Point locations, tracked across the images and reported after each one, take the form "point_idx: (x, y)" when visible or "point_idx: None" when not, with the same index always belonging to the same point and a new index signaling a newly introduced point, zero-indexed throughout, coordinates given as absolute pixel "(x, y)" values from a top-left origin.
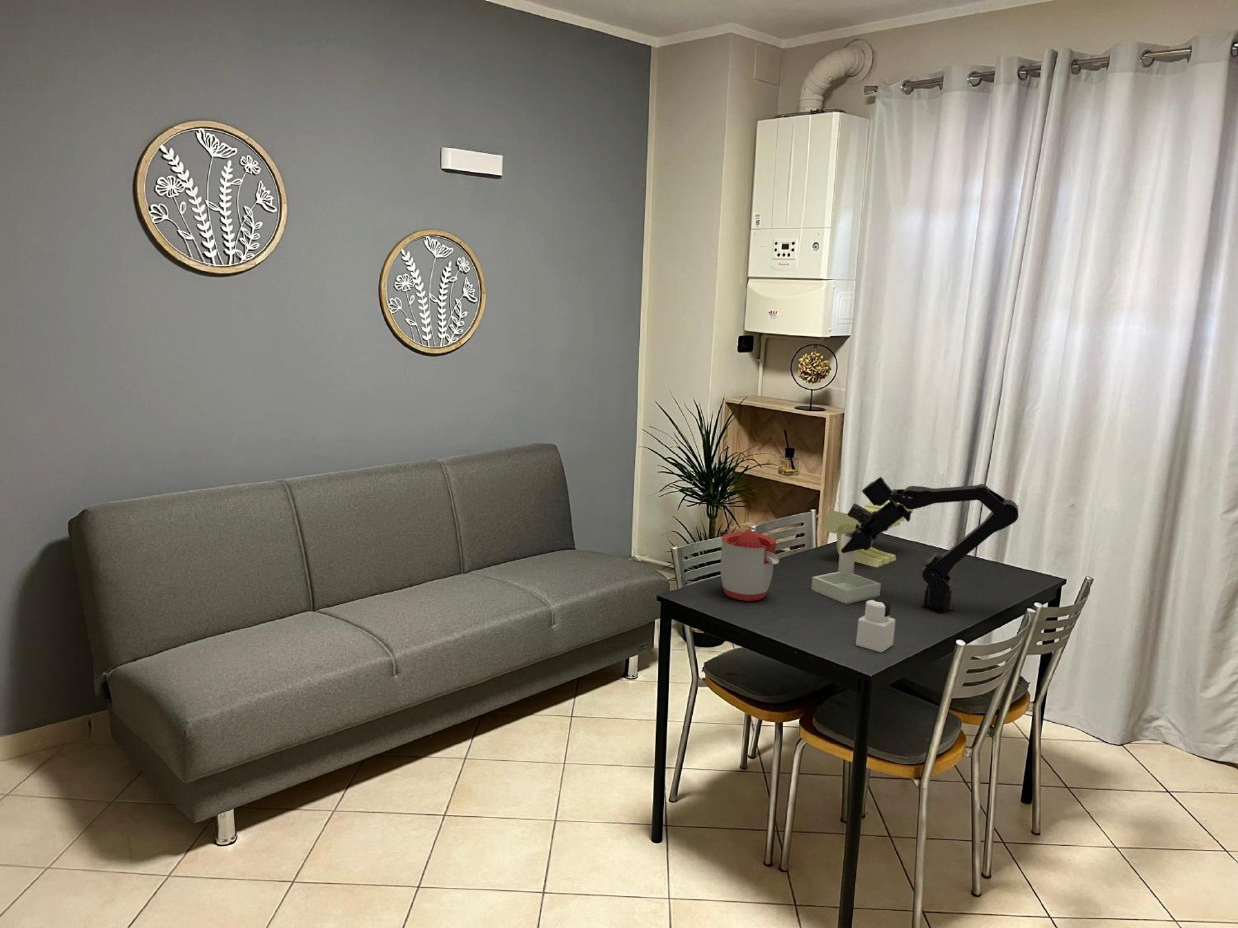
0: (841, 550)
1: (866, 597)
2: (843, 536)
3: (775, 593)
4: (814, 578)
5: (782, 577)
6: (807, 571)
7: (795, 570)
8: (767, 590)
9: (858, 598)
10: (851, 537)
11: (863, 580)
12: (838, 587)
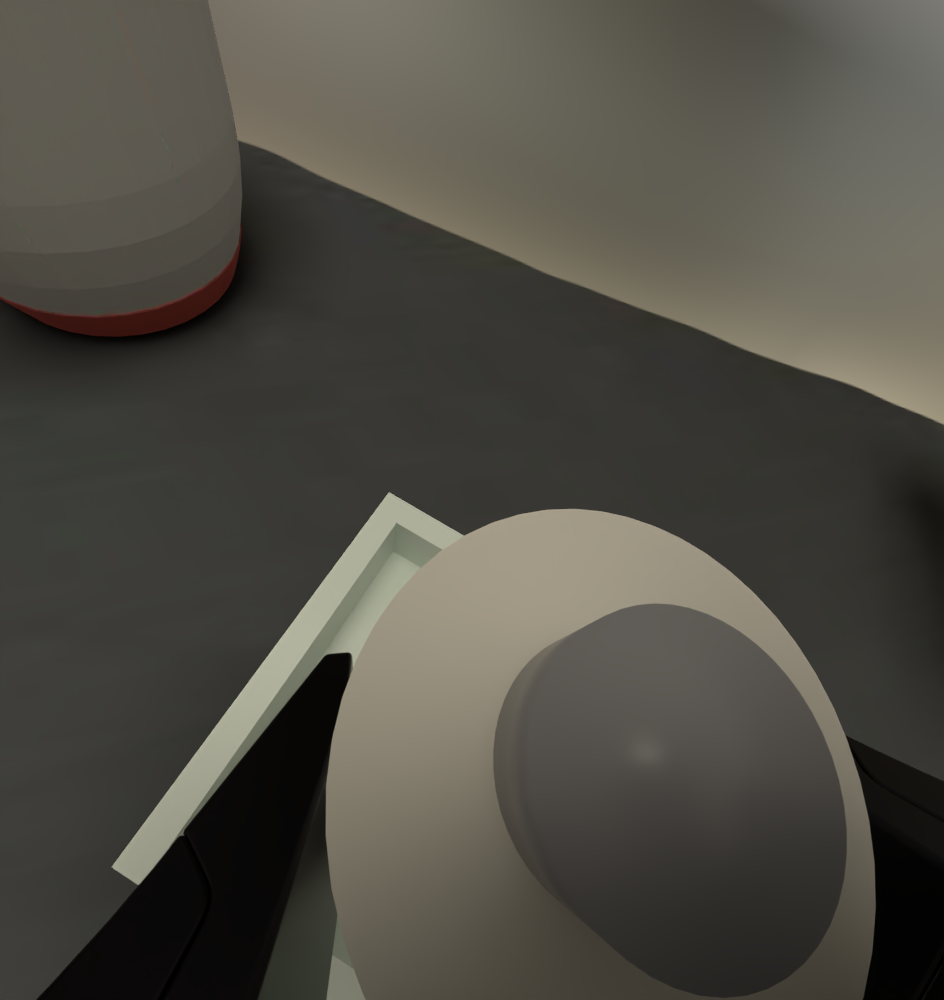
0: (319, 667)
1: None
2: (422, 604)
3: (221, 377)
4: (377, 510)
5: (505, 372)
6: (675, 455)
7: (647, 406)
8: (79, 316)
9: None
10: (447, 961)
11: None
12: (206, 739)
